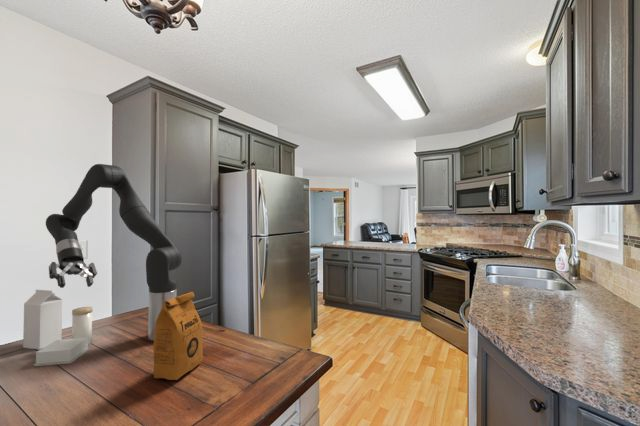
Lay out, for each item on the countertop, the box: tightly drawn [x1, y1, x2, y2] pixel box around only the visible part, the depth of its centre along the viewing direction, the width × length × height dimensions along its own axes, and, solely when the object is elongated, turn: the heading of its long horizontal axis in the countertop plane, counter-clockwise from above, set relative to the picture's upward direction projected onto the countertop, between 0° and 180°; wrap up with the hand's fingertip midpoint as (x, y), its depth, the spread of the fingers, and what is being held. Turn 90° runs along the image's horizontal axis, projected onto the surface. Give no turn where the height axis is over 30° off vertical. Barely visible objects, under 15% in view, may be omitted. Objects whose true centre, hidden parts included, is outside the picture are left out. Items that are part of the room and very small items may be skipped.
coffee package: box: [153, 291, 204, 381], centre depth 85 cm, size 10×12×22 cm
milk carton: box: [22, 289, 63, 350], centre depth 102 cm, size 7×7×19 cm
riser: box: [33, 338, 90, 367], centre depth 93 cm, size 10×10×4 cm
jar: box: [71, 306, 94, 346], centre depth 103 cm, size 6×6×12 cm
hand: (77, 285), depth 109 cm, fingers open, 8 cm apart
